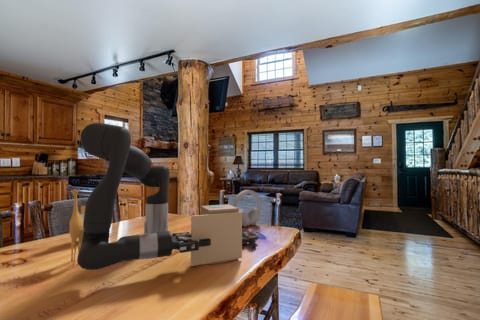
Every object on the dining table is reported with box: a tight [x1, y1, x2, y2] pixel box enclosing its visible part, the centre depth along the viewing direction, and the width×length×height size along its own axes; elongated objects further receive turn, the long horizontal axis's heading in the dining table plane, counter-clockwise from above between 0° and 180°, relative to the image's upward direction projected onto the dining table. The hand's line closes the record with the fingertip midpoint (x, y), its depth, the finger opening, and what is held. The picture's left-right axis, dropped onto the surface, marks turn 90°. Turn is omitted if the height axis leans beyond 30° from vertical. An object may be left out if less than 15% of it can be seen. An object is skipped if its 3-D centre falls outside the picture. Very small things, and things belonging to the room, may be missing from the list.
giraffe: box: [68, 187, 84, 266], centre depth 90 cm, size 16×4×25 cm, turn 39°
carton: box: [200, 203, 240, 265], centre depth 94 cm, size 11×10×18 cm
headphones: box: [232, 189, 262, 228], centre depth 142 cm, size 19×8×20 cm, turn 127°
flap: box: [190, 212, 243, 267], centre depth 87 cm, size 18×1×16 cm, turn 115°
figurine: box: [242, 229, 259, 250], centre depth 116 cm, size 13×6×30 cm
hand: (206, 238), depth 86 cm, fingers open, 6 cm apart
